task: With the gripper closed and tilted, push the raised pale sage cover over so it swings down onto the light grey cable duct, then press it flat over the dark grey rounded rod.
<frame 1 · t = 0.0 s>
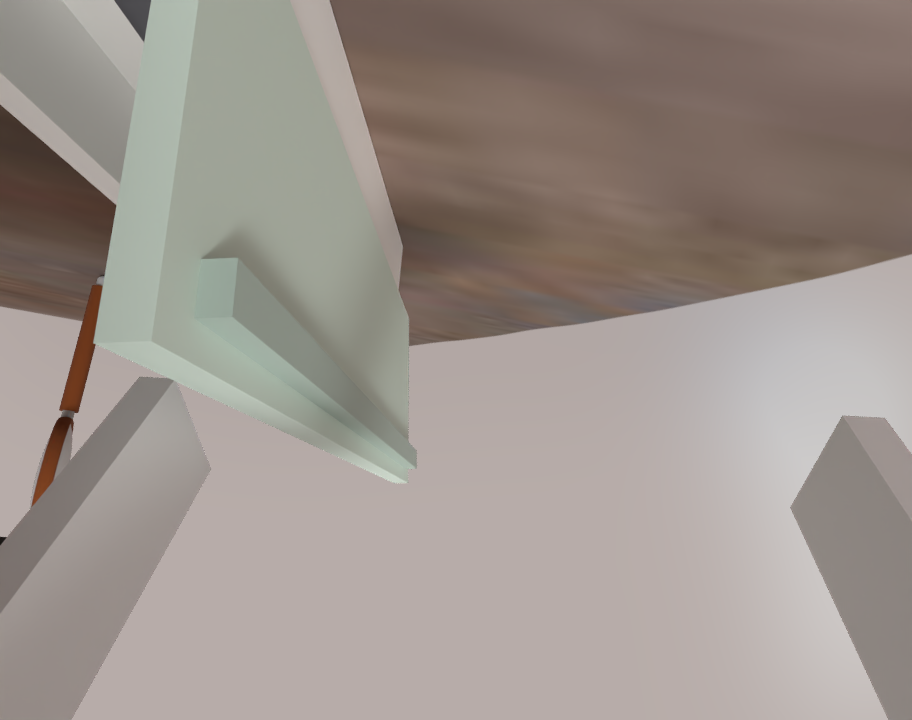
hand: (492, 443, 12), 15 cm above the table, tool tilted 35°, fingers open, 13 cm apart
cable duct: (246, 100, 25), on the table
dark grey rounded rod: (238, 139, 24), in the cable duct, point 1 cm above the table
magnifying glass: (104, 273, 45), on the table
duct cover: (360, 322, 21), point 10 cm above the table, hinge at 95.0°
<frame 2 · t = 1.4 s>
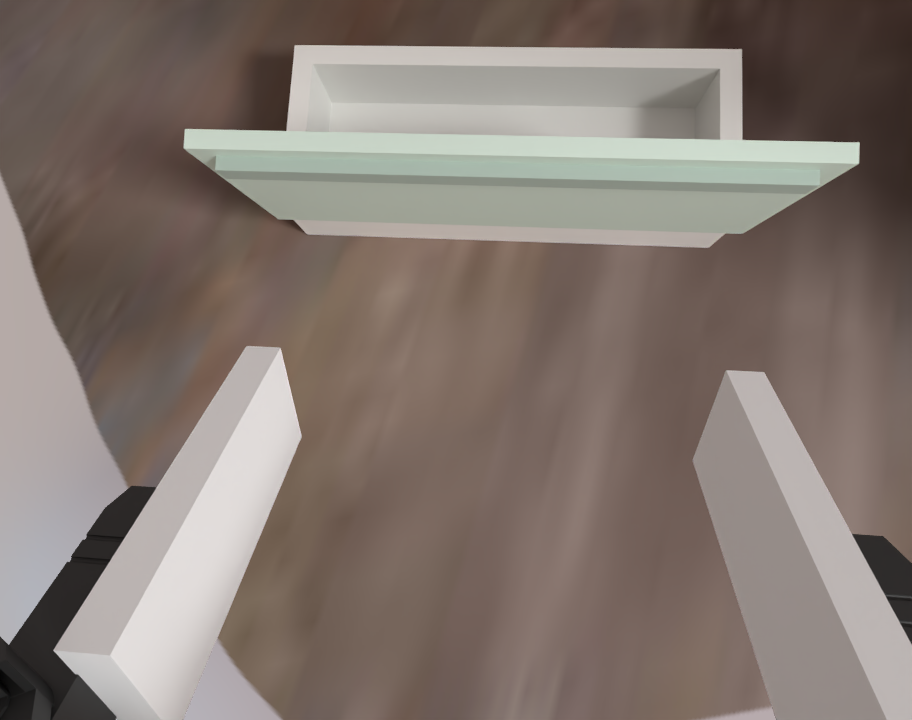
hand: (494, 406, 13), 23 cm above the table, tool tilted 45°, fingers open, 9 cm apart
cable duct: (506, 167, 38), on the table
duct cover: (505, 195, 27), point 10 cm above the table, hinge at 95.0°
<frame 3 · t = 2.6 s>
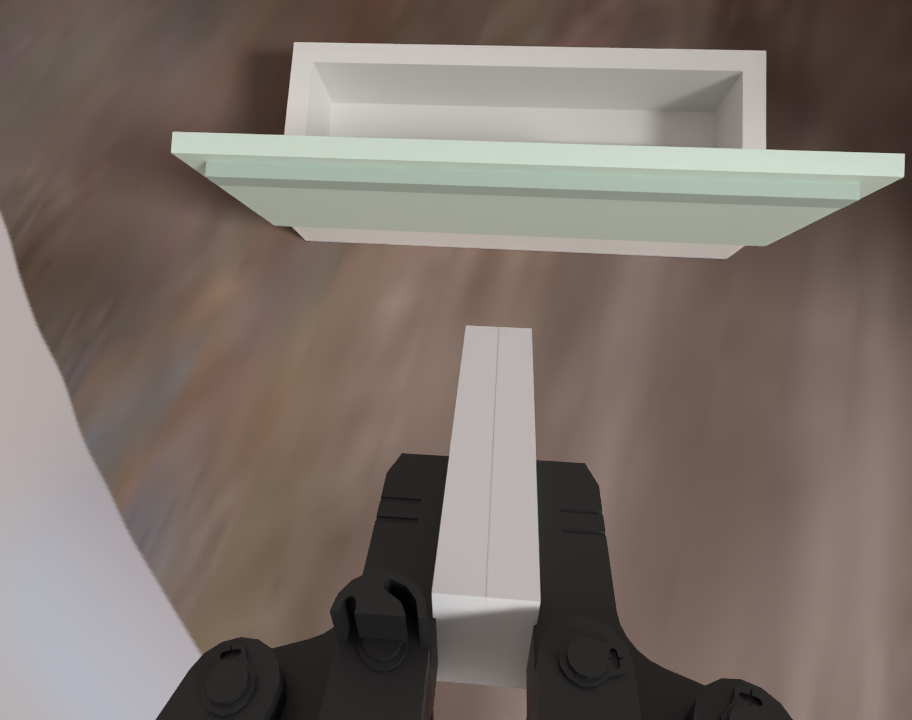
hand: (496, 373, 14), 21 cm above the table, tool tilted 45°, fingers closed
cable duct: (514, 172, 36), on the table
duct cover: (515, 204, 25), point 10 cm above the table, hinge at 95.0°
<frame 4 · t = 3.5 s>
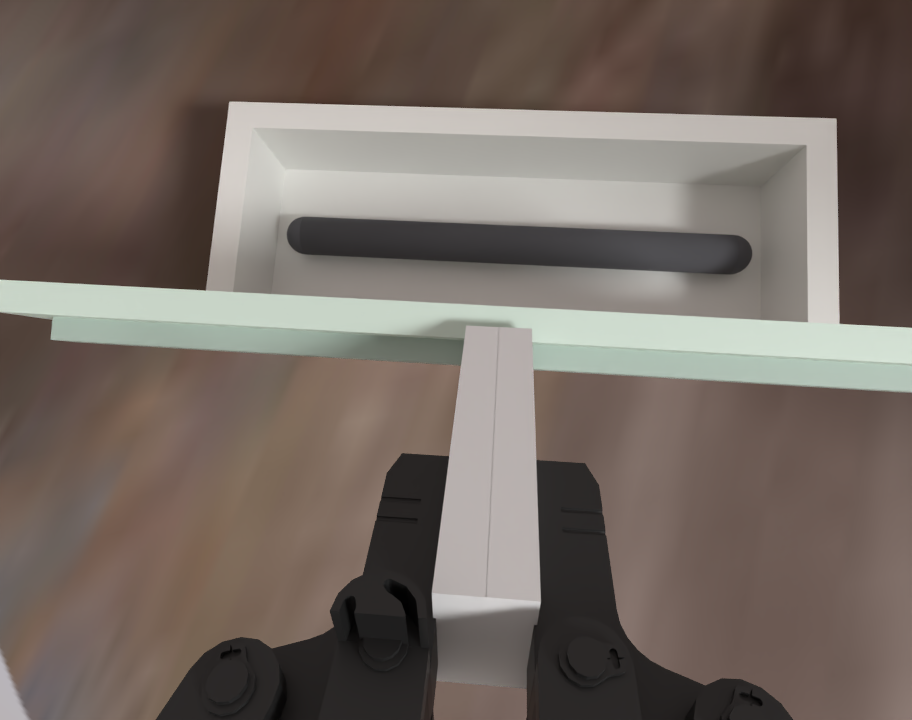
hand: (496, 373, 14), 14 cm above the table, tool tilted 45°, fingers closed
cable duct: (511, 257, 29), on the table
dark grey rounded rod: (512, 244, 27), in the cable duct, point 1 cm above the table
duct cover: (510, 349, 18), point 10 cm above the table, hinge at 94.8°, touching gripper
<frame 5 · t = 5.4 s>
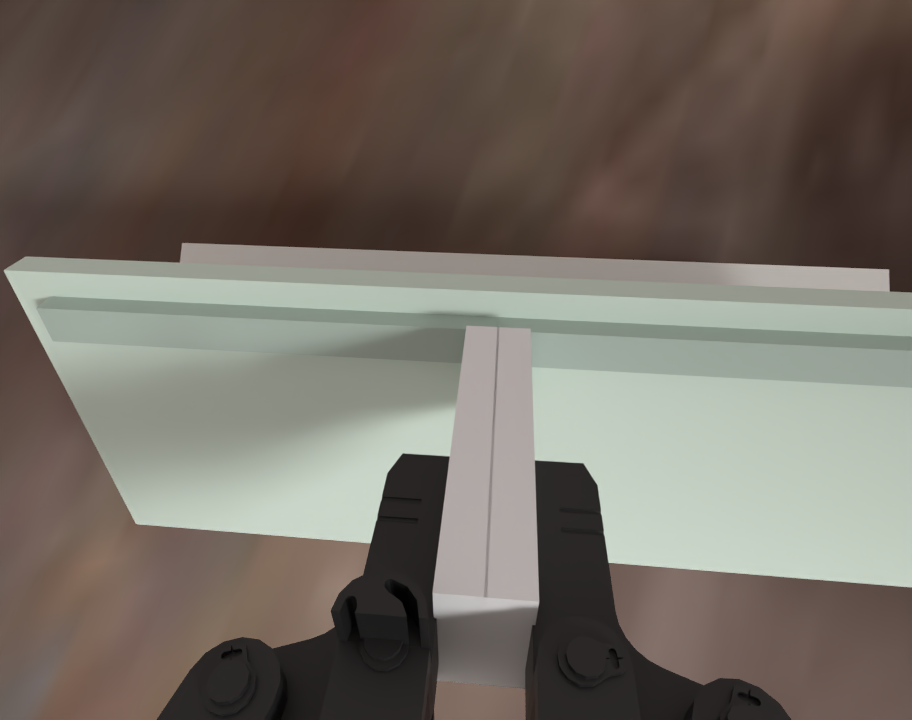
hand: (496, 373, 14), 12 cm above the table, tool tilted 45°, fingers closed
cable duct: (508, 398, 25), on the table
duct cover: (509, 444, 16), point 9 cm above the table, hinge at 43.1°, touching gripper
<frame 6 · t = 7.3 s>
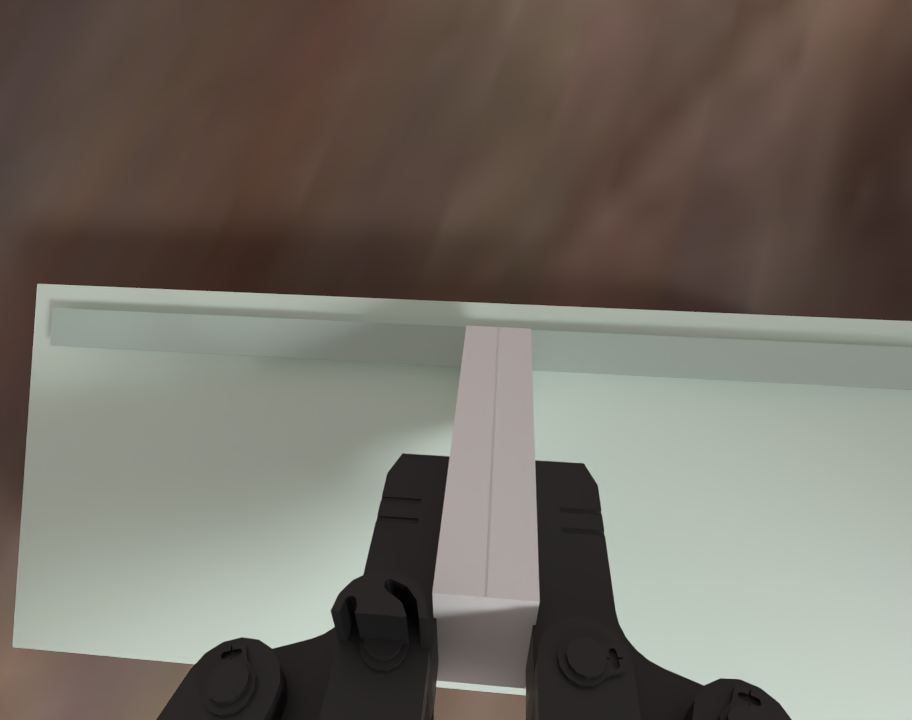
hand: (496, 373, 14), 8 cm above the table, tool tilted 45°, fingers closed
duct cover: (496, 495, 15), point 6 cm above the table, hinge at 5.9°, touching gripper
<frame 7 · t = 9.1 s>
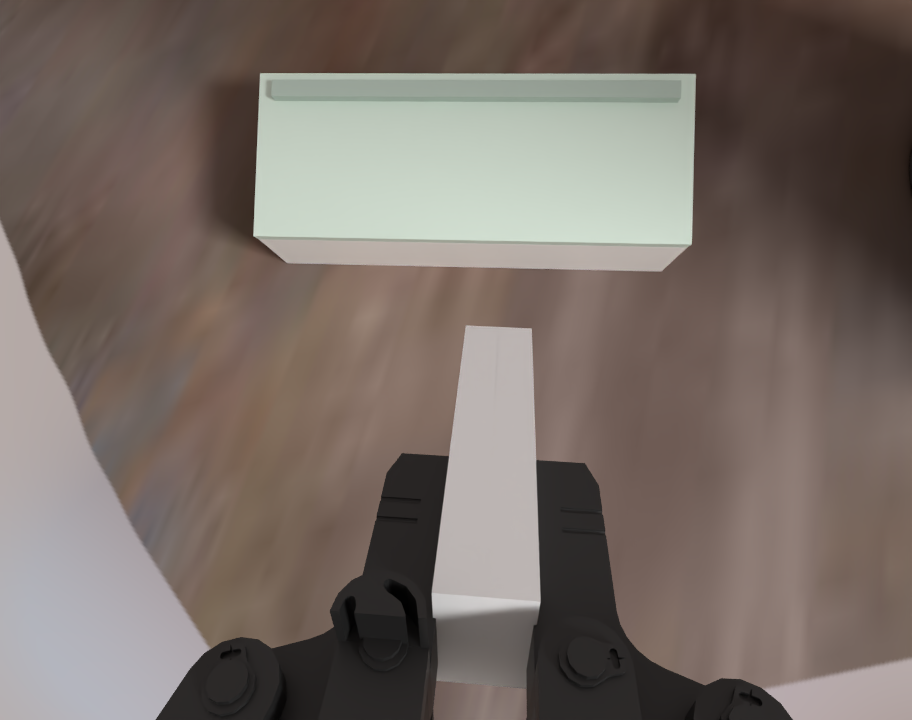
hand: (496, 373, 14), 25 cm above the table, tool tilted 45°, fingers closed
cable duct: (473, 198, 40), on the table
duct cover: (470, 157, 34), point 6 cm above the table, hinge at 5.9°
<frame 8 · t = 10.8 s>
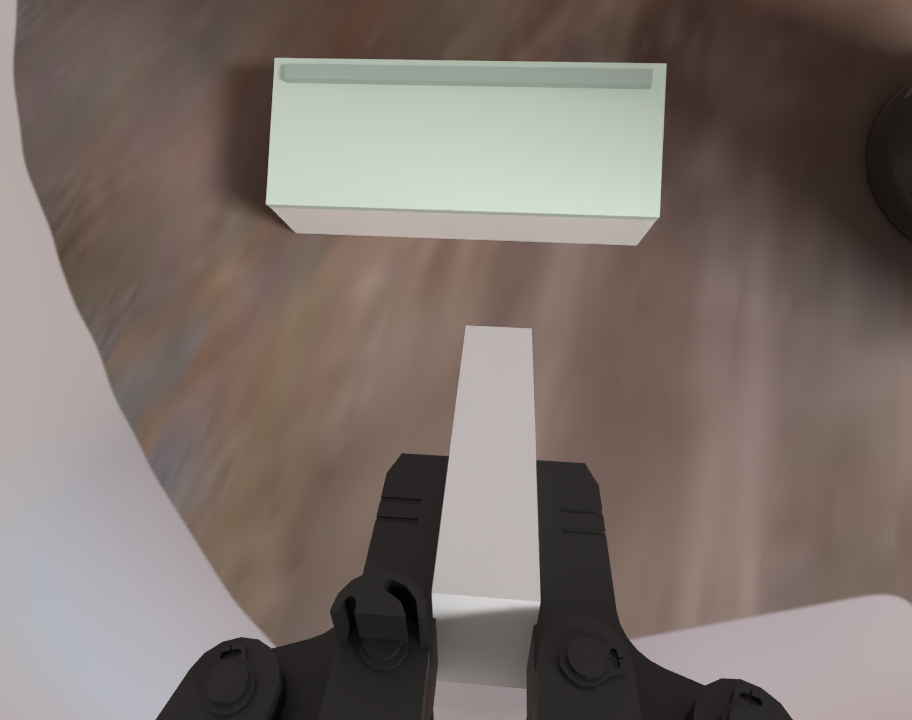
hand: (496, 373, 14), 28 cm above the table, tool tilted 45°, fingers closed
cable duct: (466, 176, 44), on the table
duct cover: (462, 136, 38), point 6 cm above the table, hinge at 5.9°
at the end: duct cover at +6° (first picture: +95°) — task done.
